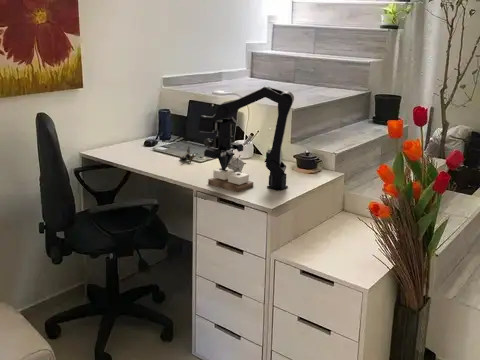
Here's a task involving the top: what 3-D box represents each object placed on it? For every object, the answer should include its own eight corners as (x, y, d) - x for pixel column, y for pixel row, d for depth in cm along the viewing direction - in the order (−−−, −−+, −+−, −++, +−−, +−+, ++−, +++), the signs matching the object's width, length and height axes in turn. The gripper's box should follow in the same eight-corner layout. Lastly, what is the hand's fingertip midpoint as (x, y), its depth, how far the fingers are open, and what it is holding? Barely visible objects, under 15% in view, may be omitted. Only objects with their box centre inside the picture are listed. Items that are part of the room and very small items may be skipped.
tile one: (248, 181, 237) (248, 173, 236) (239, 184, 232) (239, 176, 231) (237, 178, 240) (237, 171, 239) (227, 181, 236) (228, 174, 235)
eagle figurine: (201, 159, 274) (192, 151, 280) (195, 148, 269) (186, 141, 275) (188, 168, 272) (180, 161, 279) (182, 158, 267) (173, 150, 274)
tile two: (233, 176, 242) (233, 169, 241) (224, 180, 237) (224, 172, 236) (222, 174, 245) (222, 166, 244) (213, 177, 241) (213, 169, 240)
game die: (238, 182, 256) (243, 168, 249) (220, 174, 257) (225, 160, 249) (245, 168, 262) (250, 154, 254) (228, 160, 262) (232, 146, 255)
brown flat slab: (253, 186, 238) (253, 182, 238) (237, 192, 231) (238, 187, 230) (224, 178, 248) (224, 174, 247) (208, 183, 241) (208, 179, 240)
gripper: (224, 127, 247) (223, 162, 252) (194, 133, 234) (194, 170, 238) (244, 131, 241) (243, 167, 245) (214, 138, 227) (214, 176, 231)
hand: (223, 170), depth 240 cm, fingers closed, pressing on tile two
